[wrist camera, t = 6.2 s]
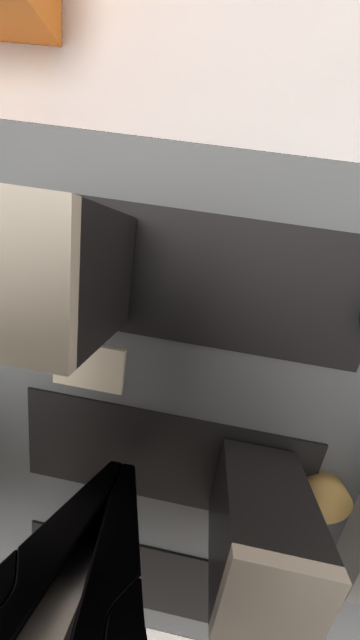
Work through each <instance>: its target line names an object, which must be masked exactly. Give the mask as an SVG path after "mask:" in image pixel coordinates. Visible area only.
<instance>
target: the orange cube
mask: <svg viewBox="0 0 360 640" xmlns="http://www.w3.org/2000/svg"><path fill="white" fill-rule="evenodd" d="M0 41H2V42H12V43H23V44H34V45H45V46H56V47H62V0H0Z"/></svg>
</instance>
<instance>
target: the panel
mask: <svg viewBox="0 0 360 640" xmlns="http://www.w3.org/2000/svg"><path fill="white" fill-rule="evenodd" d="M0 183H6V184H13V185H20V186H27V187H34V188H41V189H49V190H56V191H63V192H70V193H74V194H76V195H79V196H81V197H84V198H87V199H89V200H92V201H94V202H97V203H99V204H102V205H105V206H107V207H110V208H112V209H115V210H117V211H120V212H123V213H125V214H128V215H130V216H133V217H135V218H137V221H136V232H135V244H134V255H133V266H132V278H131V289H130V300H129V312H128V322H127V323H126V324H125V325H124V326H123V327H122V328H120V329H119V330H118V331H117V332H116V333H115V334H114V335H113V336H112V337H111V338H110V339H109V340H108V341H106V342H105V343H104V344H103V345H102V346H101V347H100V348H99V349H98V350H97V351H96V352H95V353H94V354H92V355H91V356H90V357H89V358H88V359H87V360H86V361H85V362H84V363H83V364H82V365H81V366H80V367H78V368H77V369H76V370H75V371H74V372H73V373H72V374H71V375H70V376H69V377H65V376H60V375H55V374H49V373H44V372H39V371H33V370H28V369H23V368H17V367H12V366H7V365H1V364H0V563H1V562H2V561H3V560H4V559H5V558H6V557H8V556H9V555H10V554H11V553H12V552H13V551H14V550H17V548H18V546H20V545H21V544H22V543H23V542H24V541H25V540H26V539H27V538H28V537H29V536H30V535H31V534H32V533H34V532H35V531H36V530H37V529H38V528H39V527H40V526H41V525H42V524H43V523H44V522H45V521H47V520H48V519H49V518H50V517H51V516H52V515H53V514H54V513H55V512H56V511H57V510H58V509H59V508H61V507H62V506H63V505H64V504H65V503H66V502H67V501H68V500H69V499H70V498H71V497H72V496H73V495H75V494H76V493H77V492H78V491H79V490H80V489H81V488H82V487H83V486H84V485H85V484H86V483H87V482H89V481H90V480H91V479H92V478H93V477H94V476H95V475H96V474H97V473H98V472H99V471H100V470H101V469H103V468H104V467H105V466H106V465H107V464H108V463H109V462H110V461H116V462H121V463H122V464H124V463H126V464H131V465H134V466H135V474H136V492H137V509H138V527H139V544H140V562H141V579H142V595H143V607H144V619H145V628H150V629H154V630H158V631H162V632H166V633H170V634H174V635H178V636H182V637H186V638H190V639H194V640H208V539H209V501H210V497H211V492H212V488H213V484H214V479H215V475H216V471H217V466H218V462H219V458H220V453H221V449H222V445H223V440H224V438H225V439H230V440H235V441H240V442H245V443H250V444H255V445H261V446H266V447H271V448H276V449H281V450H286V451H291V452H296V453H297V455H298V458H299V460H300V462H301V465H302V467H303V469H304V472H305V474H306V477H307V479H308V481H309V484H310V486H311V488H312V491H313V493H314V496H315V498H316V500H317V503H318V505H319V507H320V510H321V512H322V514H323V517H324V519H325V522H326V524H327V526H328V529H329V531H330V533H331V536H332V538H333V540H334V543H335V545H336V548H337V550H338V552H339V555H340V557H341V559H342V562H343V564H344V567H345V569H346V571H347V574H348V576H349V578H350V581H351V583H352V587H351V589H350V591H349V593H348V595H347V597H346V599H345V601H344V602H343V604H342V606H341V608H340V610H339V612H338V614H337V616H336V618H335V620H334V622H333V624H332V626H331V628H330V630H329V632H328V634H327V636H326V638H325V640H360V163H354V162H346V161H338V160H330V159H322V158H314V157H306V156H298V155H290V154H281V153H273V152H265V151H257V150H249V149H241V148H233V147H225V146H217V145H209V144H201V143H192V142H184V141H176V140H168V139H160V138H152V137H144V136H136V135H128V134H120V133H112V132H103V131H95V130H87V129H79V128H71V127H63V126H55V125H47V124H39V123H31V122H22V121H14V120H6V119H0Z"/></svg>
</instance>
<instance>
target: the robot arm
mask: <svg viewBox="0 0 360 640" xmlns="http://www.w3.org/2000/svg"><path fill="white" fill-rule="evenodd" d="M80 598H81V599H80ZM79 601H80V602H79ZM78 603H79V606H78V610H77V613H76V617H75V621H74V625H73V628H72V632H71V636H70V639H69V640H147V635H146V628H145V619H144V607H143V595H142V579H141V562H140V544H139V527H138V509H137V492H136V474H135V466H134V465H131V464H126V463H124V464H122V463H121V462H116V461H110V462H109V463H108V464H107V465H106V466H105V467H104V468H103V469H101V470H100V471H99V472H98V473H97V474H96V475H95V476H94V477H93V478H92V479H91V480H90V481H89V482H87V483H86V484H85V485H84V486H83V487H82V488H81V489H80V490H79V491H78V492H77V493H76V494H75V495H73V496H72V497H71V498H70V499H69V500H68V501H67V502H66V503H65V504H64V505H63V506H62V507H61V508H59V509H58V510H57V511H56V512H55V513H54V514H53V515H52V516H51V517H50V518H49V519H48V520H47V521H45V522H44V523H43V524H42V525H41V526H40V527H39V528H38V529H37V530H36V531H35V532H34V533H32V534H31V535H30V536H29V537H28V538H27V539H26V540H25V541H24V542H23V543H22V544H21V545H20V546H18V548H17V550H14V551H13V552H12V553H11V554H10V555H9V556H8V557H6V558H5V559H4V560H3V561H2V562H1V563H0V640H64V637H65V635H66V632H67V630H68V627H69V625H70V622H71V620H72V618H73V615H74V613H75V610H76V608H77V605H78Z"/></svg>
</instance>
